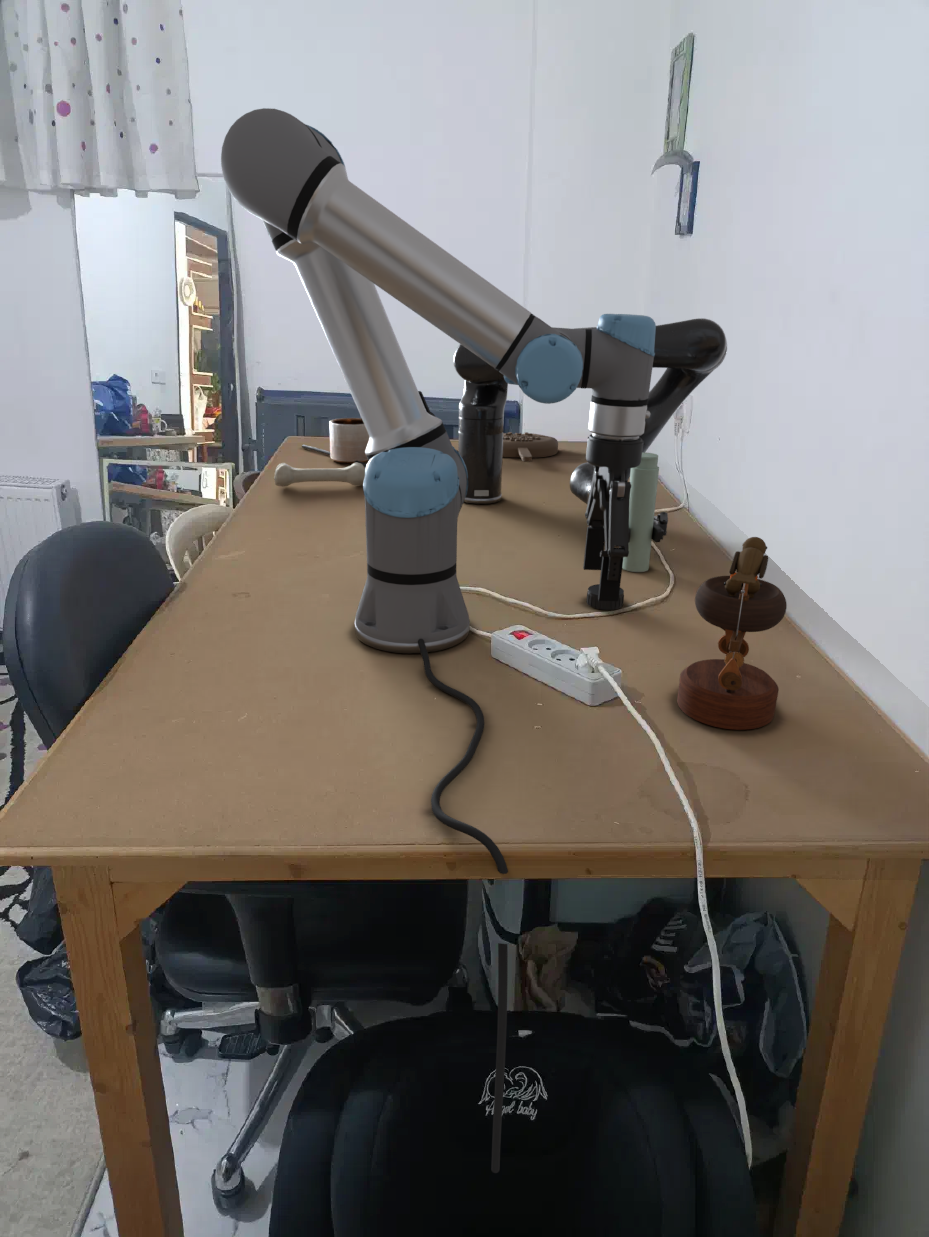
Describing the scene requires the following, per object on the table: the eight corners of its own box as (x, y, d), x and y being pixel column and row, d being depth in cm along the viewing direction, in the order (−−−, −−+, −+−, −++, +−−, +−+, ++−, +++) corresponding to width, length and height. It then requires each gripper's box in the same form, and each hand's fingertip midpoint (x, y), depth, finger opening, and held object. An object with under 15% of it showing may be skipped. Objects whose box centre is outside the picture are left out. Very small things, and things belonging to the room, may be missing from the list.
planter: (327, 456, 217) (325, 418, 214) (369, 454, 220) (368, 417, 217) (334, 465, 208) (332, 425, 204) (377, 463, 211) (376, 424, 207)
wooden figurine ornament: (793, 740, 87) (809, 557, 80) (685, 741, 89) (691, 560, 81) (762, 676, 102) (773, 514, 94) (668, 677, 103) (672, 518, 95)
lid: (630, 604, 124) (631, 590, 123) (608, 613, 120) (609, 599, 119) (601, 594, 127) (602, 581, 126) (578, 603, 124) (579, 589, 123)
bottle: (616, 567, 139) (626, 454, 132) (632, 562, 142) (643, 450, 135) (637, 574, 136) (649, 458, 129) (654, 568, 139) (666, 455, 132)
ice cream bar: (485, 467, 208) (485, 449, 207) (478, 445, 234) (478, 430, 233) (570, 467, 209) (571, 450, 208) (554, 445, 235) (554, 430, 234)
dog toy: (366, 481, 192) (365, 459, 190) (367, 487, 187) (366, 465, 185) (275, 483, 189) (273, 461, 187) (274, 489, 184) (272, 466, 182)
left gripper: (665, 454, 103) (644, 616, 112) (624, 421, 126) (609, 558, 134) (604, 452, 103) (587, 615, 111) (575, 419, 126) (562, 556, 134)
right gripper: (578, 488, 148) (601, 514, 132) (658, 487, 149) (690, 513, 133) (575, 529, 151) (597, 559, 135) (654, 528, 152) (684, 558, 136)
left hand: (599, 584), depth 123 cm, fingers open, 12 cm apart
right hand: (643, 536), depth 134 cm, fingers closed on bottle, 4 cm apart
